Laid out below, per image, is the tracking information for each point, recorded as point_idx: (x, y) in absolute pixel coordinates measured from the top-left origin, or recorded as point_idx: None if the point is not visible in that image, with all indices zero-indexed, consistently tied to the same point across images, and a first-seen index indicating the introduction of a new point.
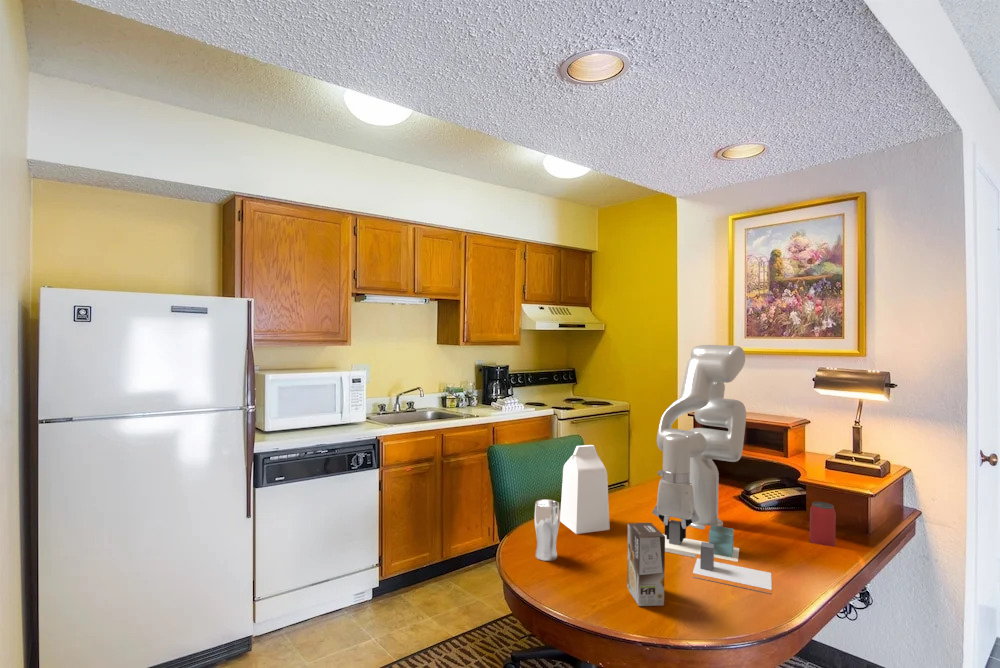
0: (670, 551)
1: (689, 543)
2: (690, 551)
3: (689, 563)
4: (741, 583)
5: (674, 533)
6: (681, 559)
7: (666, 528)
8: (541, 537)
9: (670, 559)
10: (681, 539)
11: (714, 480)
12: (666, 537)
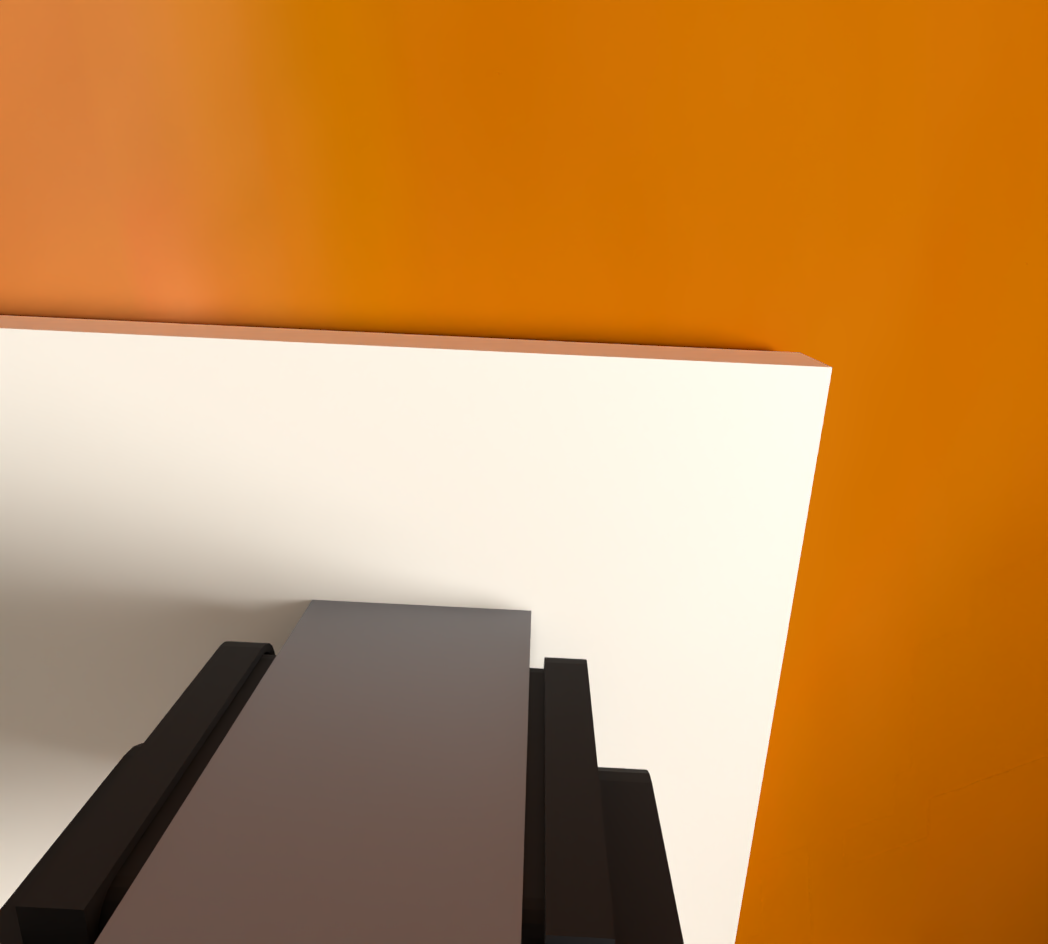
0: (469, 339)
1: None
2: (40, 385)
3: (38, 5)
4: None
5: (369, 765)
6: (228, 147)
7: (619, 905)
8: None
9: (432, 27)
10: (219, 668)
11: None
12: None
